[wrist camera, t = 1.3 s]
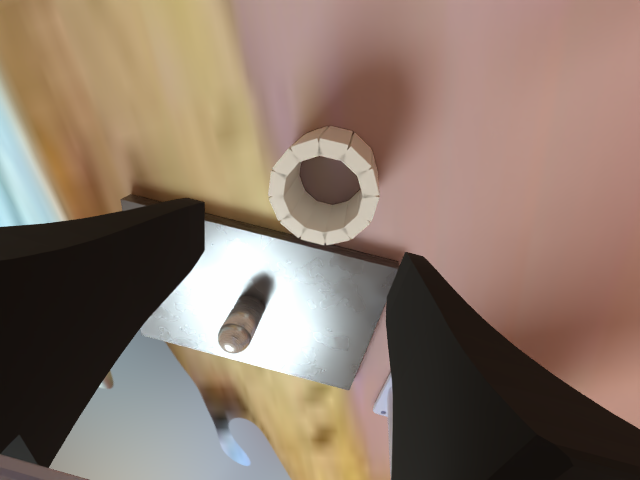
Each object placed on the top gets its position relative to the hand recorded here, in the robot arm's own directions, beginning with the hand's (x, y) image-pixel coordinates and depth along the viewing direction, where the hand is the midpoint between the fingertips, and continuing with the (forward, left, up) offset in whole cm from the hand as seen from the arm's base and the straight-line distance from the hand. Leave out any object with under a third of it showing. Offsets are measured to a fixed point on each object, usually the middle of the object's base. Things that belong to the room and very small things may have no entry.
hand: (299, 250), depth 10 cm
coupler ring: (0, 0, -9) cm, 9 cm away
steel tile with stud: (+4, +12, -9) cm, 16 cm away
